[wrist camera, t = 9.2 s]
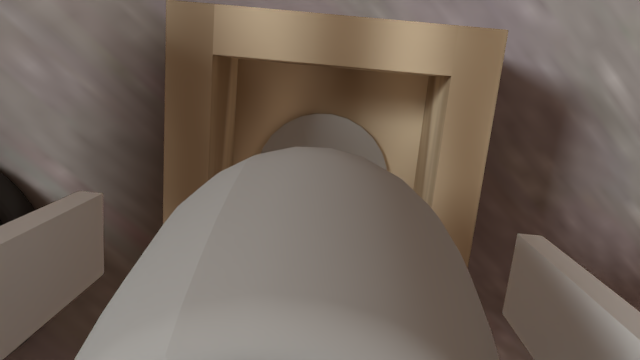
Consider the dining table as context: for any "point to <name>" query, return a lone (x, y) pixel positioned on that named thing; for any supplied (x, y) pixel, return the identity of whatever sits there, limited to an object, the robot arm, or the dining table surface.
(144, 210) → the dining table surface
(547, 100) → the dining table surface
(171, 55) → the tan wooden open box
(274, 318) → the wineglass
